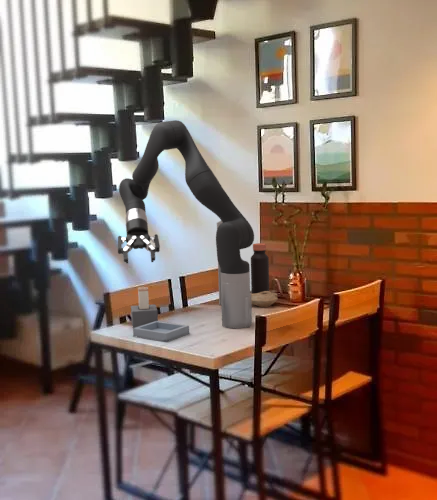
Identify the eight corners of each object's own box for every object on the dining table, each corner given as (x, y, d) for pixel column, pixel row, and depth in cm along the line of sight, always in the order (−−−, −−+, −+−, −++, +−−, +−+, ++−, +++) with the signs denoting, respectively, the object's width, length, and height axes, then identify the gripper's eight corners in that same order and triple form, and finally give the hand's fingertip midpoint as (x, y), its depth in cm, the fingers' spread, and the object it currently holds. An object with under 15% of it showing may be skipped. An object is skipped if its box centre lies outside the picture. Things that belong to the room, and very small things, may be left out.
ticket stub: (148, 313, 226) (147, 286, 225) (149, 316, 223) (148, 289, 221) (139, 314, 226) (137, 287, 225) (139, 317, 222) (138, 289, 221)
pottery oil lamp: (241, 302, 252) (248, 284, 253) (272, 314, 250) (279, 296, 251) (239, 299, 243) (247, 280, 244) (271, 311, 241) (279, 292, 242)
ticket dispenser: (155, 320, 230) (155, 304, 229) (158, 327, 221) (157, 310, 220) (131, 322, 228) (130, 305, 228) (132, 328, 220) (132, 311, 219)
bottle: (272, 296, 263) (271, 244, 261) (257, 298, 260) (256, 245, 257) (263, 293, 269) (262, 242, 266) (248, 295, 266) (246, 244, 263)
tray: (189, 333, 212) (189, 325, 211) (166, 342, 203) (165, 333, 202) (156, 328, 219) (156, 320, 219) (133, 336, 210) (132, 328, 210)
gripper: (116, 218, 239) (118, 255, 229) (157, 216, 241) (161, 253, 232) (116, 231, 245) (118, 269, 235) (156, 230, 247) (160, 266, 238)
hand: (139, 261), depth 234 cm, fingers open, 8 cm apart
